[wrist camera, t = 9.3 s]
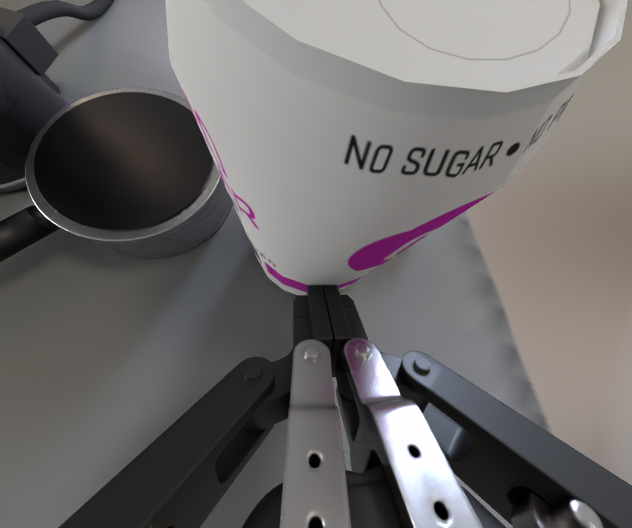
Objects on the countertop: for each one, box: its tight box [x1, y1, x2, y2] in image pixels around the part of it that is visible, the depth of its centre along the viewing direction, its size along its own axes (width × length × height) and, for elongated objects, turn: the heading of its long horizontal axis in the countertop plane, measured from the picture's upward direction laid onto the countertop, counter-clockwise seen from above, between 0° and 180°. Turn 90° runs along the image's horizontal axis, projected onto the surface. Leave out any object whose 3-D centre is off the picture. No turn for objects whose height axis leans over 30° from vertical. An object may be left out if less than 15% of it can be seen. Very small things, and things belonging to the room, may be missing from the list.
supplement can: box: [166, 0, 628, 295], centre depth 11 cm, size 8×8×15 cm
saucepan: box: [0, 88, 233, 262], centre depth 15 cm, size 19×11×4 cm, turn 132°
